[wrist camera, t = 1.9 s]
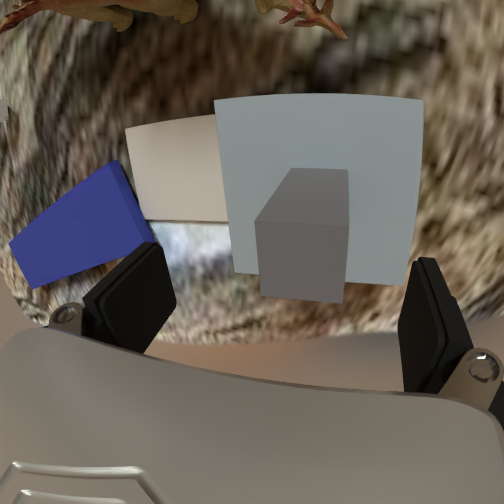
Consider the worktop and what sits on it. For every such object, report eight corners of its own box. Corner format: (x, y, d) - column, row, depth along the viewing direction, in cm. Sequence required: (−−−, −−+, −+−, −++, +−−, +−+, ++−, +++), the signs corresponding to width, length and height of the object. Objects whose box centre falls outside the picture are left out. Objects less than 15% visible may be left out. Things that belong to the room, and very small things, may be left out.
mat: (218, 113, 24) (215, 114, 23) (230, 218, 29) (228, 221, 28) (128, 128, 27) (124, 129, 26) (145, 217, 32) (142, 219, 31)
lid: (418, 100, 14) (481, 109, 6) (401, 277, 20) (416, 376, 12) (220, 99, 17) (132, 113, 10) (239, 265, 23) (188, 348, 16)
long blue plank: (20, 236, 44) (40, 283, 47) (8, 242, 41) (29, 290, 44) (121, 158, 29) (156, 243, 31) (101, 163, 26) (139, 254, 29)
